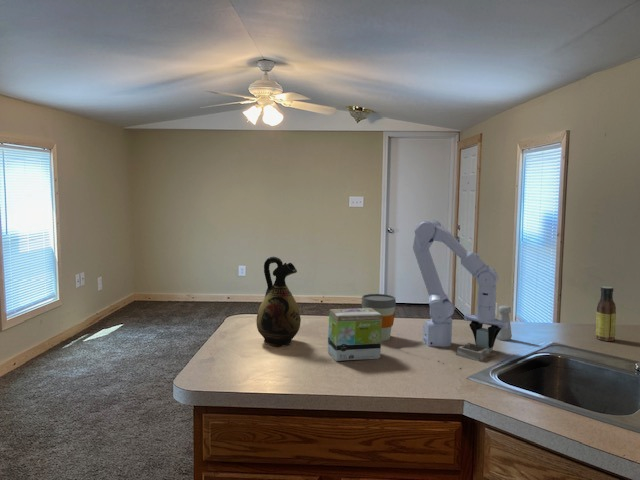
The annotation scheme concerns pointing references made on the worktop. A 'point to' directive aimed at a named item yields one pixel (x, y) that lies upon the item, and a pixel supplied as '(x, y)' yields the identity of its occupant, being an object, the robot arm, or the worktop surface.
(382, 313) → the reusable coffee cup
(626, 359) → the worktop surface
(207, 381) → the worktop surface
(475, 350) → the board
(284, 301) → the ceramic jug
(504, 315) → the salt shaker
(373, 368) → the worktop surface
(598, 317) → the sauce bottle
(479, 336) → the peg
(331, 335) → the tea box
